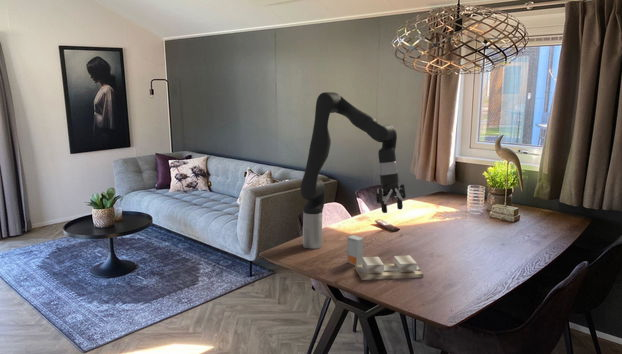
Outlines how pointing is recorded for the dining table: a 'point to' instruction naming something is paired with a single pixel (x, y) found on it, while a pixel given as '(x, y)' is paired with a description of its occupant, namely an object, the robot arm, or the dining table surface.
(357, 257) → the skincare box
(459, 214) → the dining table surface
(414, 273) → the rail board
